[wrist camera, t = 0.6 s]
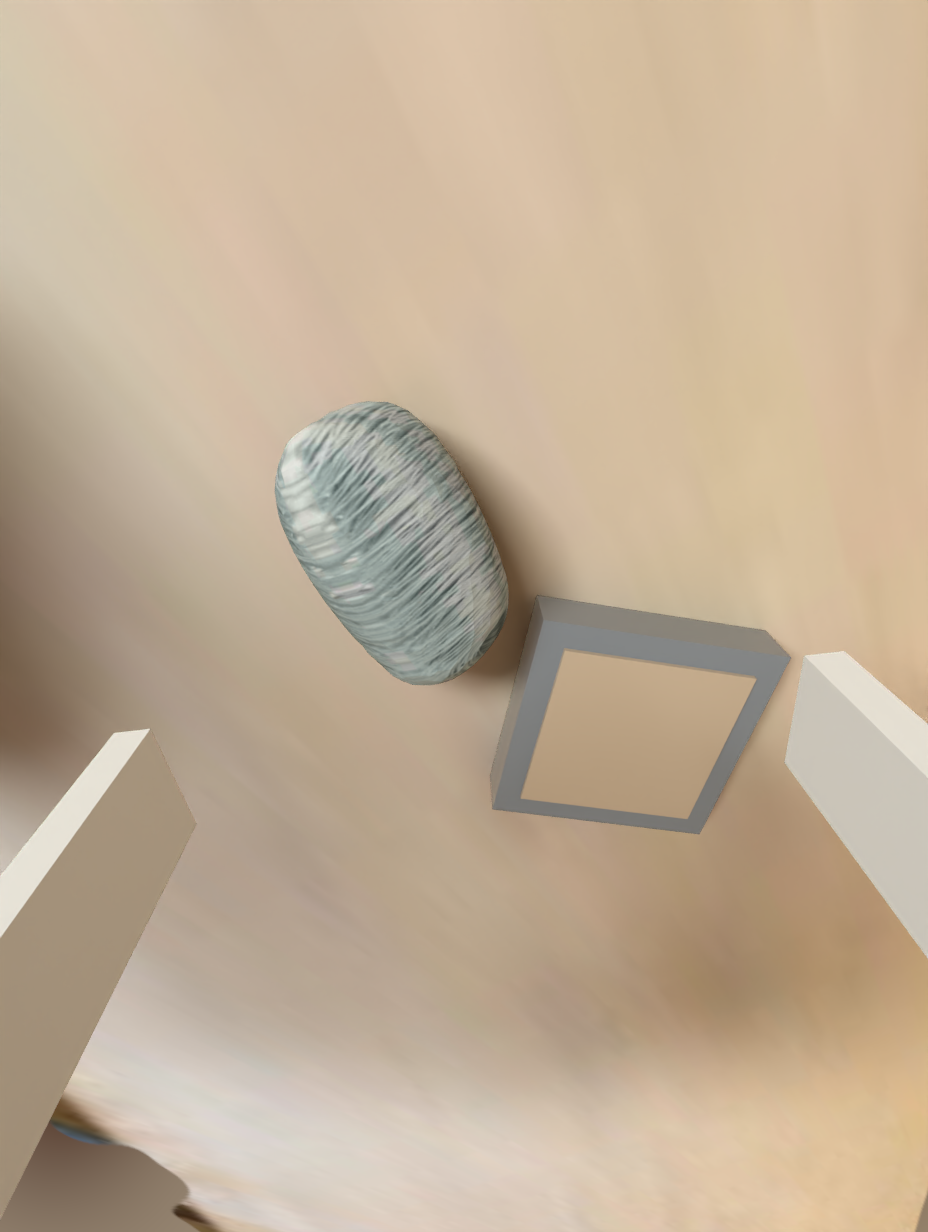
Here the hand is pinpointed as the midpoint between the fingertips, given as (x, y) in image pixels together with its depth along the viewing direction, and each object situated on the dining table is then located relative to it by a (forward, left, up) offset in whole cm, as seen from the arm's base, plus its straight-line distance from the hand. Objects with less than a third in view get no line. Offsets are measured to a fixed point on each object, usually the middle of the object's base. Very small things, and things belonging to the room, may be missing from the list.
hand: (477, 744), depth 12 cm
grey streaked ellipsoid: (-3, -3, -21) cm, 21 cm away
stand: (+12, -13, -21) cm, 27 cm away
